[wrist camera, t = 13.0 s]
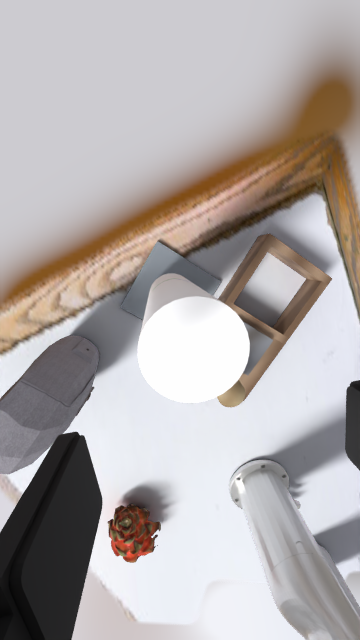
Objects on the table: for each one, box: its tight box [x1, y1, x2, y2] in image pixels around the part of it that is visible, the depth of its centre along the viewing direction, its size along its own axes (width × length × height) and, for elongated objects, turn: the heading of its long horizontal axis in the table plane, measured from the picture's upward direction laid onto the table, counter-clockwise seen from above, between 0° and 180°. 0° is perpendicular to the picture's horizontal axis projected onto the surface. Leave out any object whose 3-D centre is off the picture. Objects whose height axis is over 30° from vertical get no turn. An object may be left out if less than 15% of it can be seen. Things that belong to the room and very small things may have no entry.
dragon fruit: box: [108, 504, 161, 563], centre depth 48 cm, size 8×8×12 cm
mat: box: [120, 241, 221, 320], centre depth 40 cm, size 12×12×1 cm
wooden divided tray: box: [217, 234, 332, 407], centre depth 38 cm, size 12×24×10 cm, turn 149°
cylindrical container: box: [137, 273, 250, 403], centre depth 28 cm, size 7×7×25 cm
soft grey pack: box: [0, 335, 100, 474], centre depth 32 cm, size 15×8×20 cm, turn 142°
